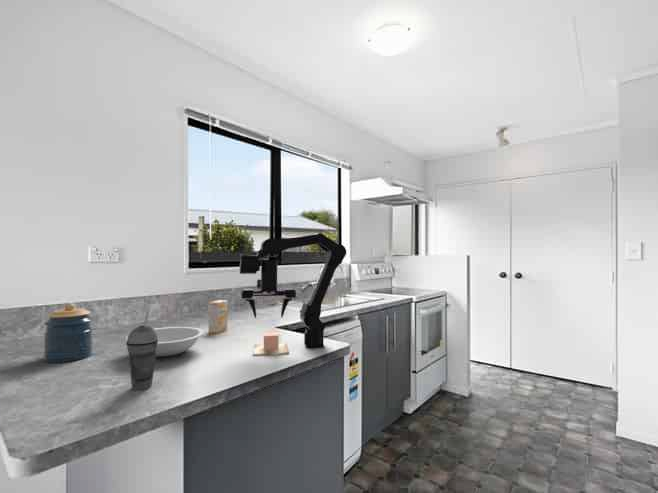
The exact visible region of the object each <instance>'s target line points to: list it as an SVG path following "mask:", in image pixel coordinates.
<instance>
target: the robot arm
mask: <svg viewBox="0 0 658 493" xmlns="http://www.w3.org/2000/svg"><path fill="white" fill-rule="evenodd" d="M311 245H313V246H314V245H317V246H318V247H319V248H321V250H323V251H324V252H325V257H324V258H325V259H324V266H323V269H322V271H321V272H320V276H319V278H318V281H317V283H316V286H315V288H314V291H313V293H312V295H311V298H310V299H309V301H308V302H305V301H304V302H303V303H302V306H301V309H300V310H299V313H300V314H299V318H300V321H301V322H302V323H303V324H304V325H305V332H304V333H303V343H304V345H305V347H306V349H316V348H325V344H324V339H325V338H324V334H325V328H326V325H325V323H324V322H323V321H322V320H320V319H321V314H322V303H323V301H324V298H325V296H326V294H327V291H328V289H329V286H330V284H331V281H332V279H333V276H334V274H335V272H336V269H337V268H338V267H339V266H340V265H341V264H342V262H343V261H344V259H345V257H346V256H347V249H346V247H345V246H344V245H343V244H340V243H339V244H338V243H337V242H336V241H334V240H332V239H330V238H329V237H327V235H325V234H324V233H322V232H317V233H314V234H310V235H303V236H295V237H291V238H266V239H264V240H263V241H262V242H261V245H260V249H259V250H258V251H257V252H256V254H255V255H252V254H240V261H239V262H240V263H239V274H240V275H252V274H253V275H255V274H257V272H260V279H257V280H256V289H257V290H254V288H243V289H242V291H241V299H245V301H246V302H248V303H249V305H250V307H251V310H252V313H253V317H254V319H257V310H256V309H257V308H256V300H255V297H278V296H279V297H281V296H282V305H281V311H280V317H281V318H283V316H284V314H285V311H286V308H287V306H288V304H289V303H290V301H293V299H295V298H296V297H297V290H296V289H294V288H290V287H289V288H284V289H283V290H278V262H283V261H284V259H283V258H282V257H281V256H280V254H278V253H281V252H283V251H285V250H289V249H293V248H294V249H295V248H300V247H305V246H306V247H307V246H311ZM271 255H274V256H271ZM265 257H267V258H265ZM259 258H261V259H259ZM262 258H265V259H262ZM260 269H261V270H260Z"/></svg>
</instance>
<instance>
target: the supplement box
mask: <svg viewBox="0 0 658 493" xmlns="http://www.w3.org/2000/svg"><path fill="white" fill-rule="evenodd" d="M228 306H229V303H228V300H226V299H218V300H213V301H210V302H208V333H210V334H220V333H222V332H224V331H226V330H228Z"/></svg>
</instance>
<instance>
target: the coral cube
mask: <svg viewBox="0 0 658 493" xmlns="http://www.w3.org/2000/svg"><path fill="white" fill-rule="evenodd" d="M263 344H264V350H278V344H279V332H278V331H276V332H275V331H274V332H263Z"/></svg>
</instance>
